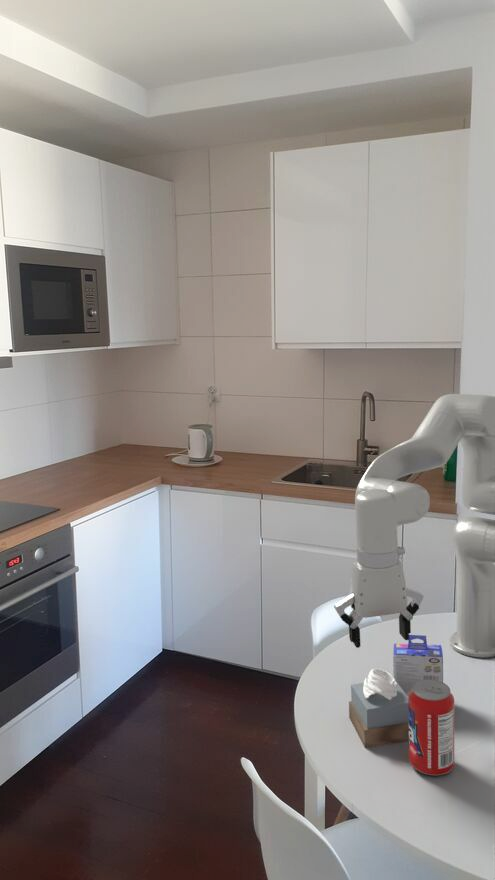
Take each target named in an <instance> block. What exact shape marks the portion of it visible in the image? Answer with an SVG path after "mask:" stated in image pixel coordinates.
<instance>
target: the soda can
mask: <svg viewBox="0 0 495 880" xmlns="http://www.w3.org/2000/svg"><path fill="white" fill-rule="evenodd" d="M408 717H409V741H408V759H409V763H410V765H411V766H412V767H413V768H414V769H415V770H416V771H418V772H420V773H422V774H424V775H428V776H442V775H445V774H447V773H449V772H451V771H452V770H453V768H454V767H455V698H454V695H453V694H452V692H451V689H450V687H449V686H448V684H446V683H445V682H444V681H443V682H440V681H437V680H431V679H425V680H420V681H417V682H416V683H414V684H413V686H412V690H411V691H410V692H409V695H408Z"/></svg>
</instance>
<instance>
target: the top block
mask: <svg viewBox="0 0 495 880" xmlns="http://www.w3.org/2000/svg"><path fill="white" fill-rule="evenodd" d="M363 686H364V682H362V683H354V684H350V697H351V698H350V699H351V700H350V701H351V703H352V705H353V707H354V708H355V710H356V711H357V713H358V715H359V716H360V718H361V719H362V721H363V723H364V724H365V726H366V728H367V729H370V728H376V727H382V726H389V725H395V724H401V723H407V722H409V717H408V696H407V695H406V694H405V692H404V691H403V690H402V688H401V687H400V686H399V685H398V683H397V696H395V697H392V696H391V697H392V698H391V699H390V700H389V699H387V698H385V697H384V696H382V695H379V694H377V693H375V694H371V695H370V696H369V699H367V698H365V696H364V693H363Z"/></svg>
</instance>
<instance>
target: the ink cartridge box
mask: <svg viewBox="0 0 495 880" xmlns="http://www.w3.org/2000/svg"><path fill="white" fill-rule="evenodd" d="M417 639H418V640H421V641H423V642H412V641H413V640H417ZM407 641H408V643H394V644H393V653H392V655H393V656H392V658H393V660H392V661H393V662H392V663H393V677H394V679H395V681H396V682H397V683H398V685H399V686H400V687H401V688H402V690H403V691H404V692H405V694H406V695H407V696H408V695H409V692H410V691H411V690H412V686H413V684H414V683H416V682H417V681H420V680H425V679H431V680H437V681H440V682H443V683H444V658H443V657H444V655H443V648H442V645H441V644H427V635H421V634H419V635H418V634H409V640H407Z"/></svg>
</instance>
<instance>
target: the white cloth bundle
mask: <svg viewBox="0 0 495 880" xmlns="http://www.w3.org/2000/svg"><path fill="white" fill-rule="evenodd" d="M363 683H364V686H363V693H364V696H365V698H367V699H369V696H370V695H371V694H375V693H377V694H379V695H382V696H384V697H385V698H387V699H389V700H390V699H391V698H392V697H395V696H397V682H396V681H395V679H394V675H392V674H391V673H389V672H388V671H387V670H383V669H381V668H373V669H371V670H370V671H369V673H368V676H367V677H365V679H364V680H363ZM391 696H392V697H391Z"/></svg>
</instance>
